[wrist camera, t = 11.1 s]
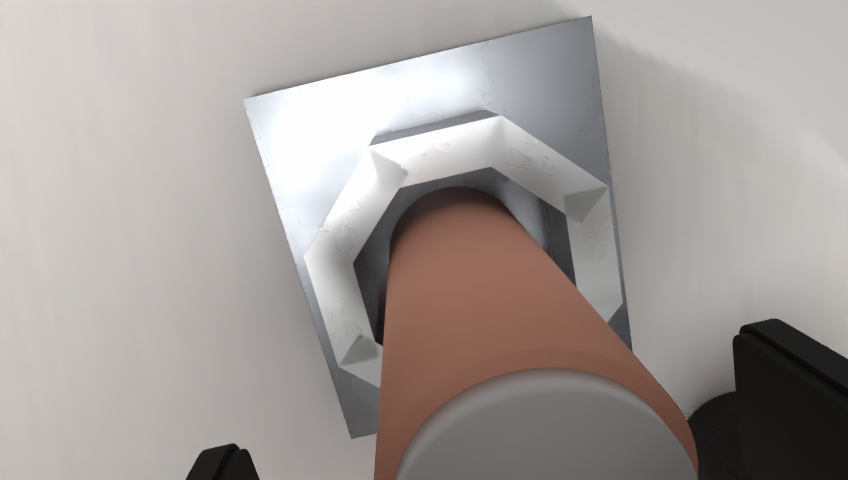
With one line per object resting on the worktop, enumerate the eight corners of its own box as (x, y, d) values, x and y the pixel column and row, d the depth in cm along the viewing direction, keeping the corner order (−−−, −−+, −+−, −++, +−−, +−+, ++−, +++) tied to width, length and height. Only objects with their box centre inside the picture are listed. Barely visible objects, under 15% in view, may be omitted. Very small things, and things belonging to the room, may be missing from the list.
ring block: (625, 363, 22) (671, 421, 18) (353, 423, 23) (343, 493, 19) (581, 18, 18) (629, 2, 14) (250, 98, 19) (211, 102, 15)
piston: (532, 297, 20) (730, 616, 8) (407, 326, 20) (415, 682, 8) (510, 172, 19) (710, 332, 7) (374, 204, 19) (328, 418, 7)
